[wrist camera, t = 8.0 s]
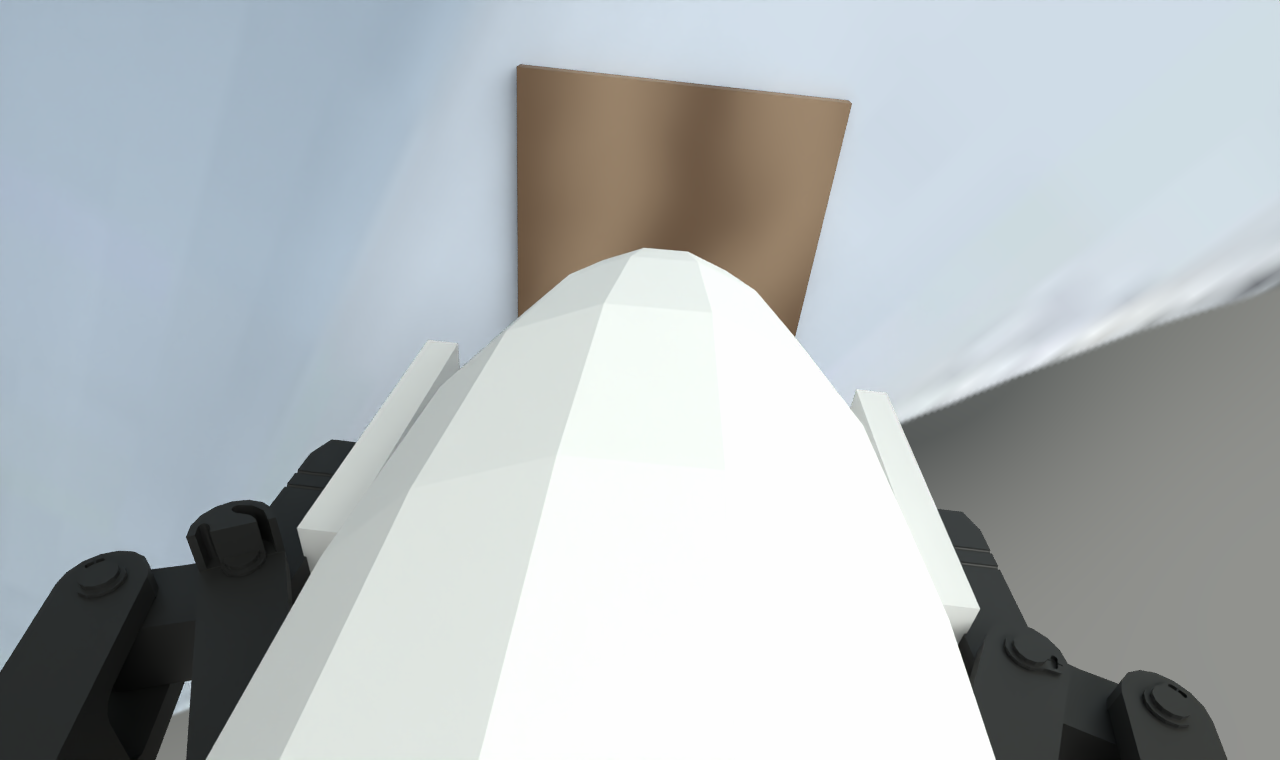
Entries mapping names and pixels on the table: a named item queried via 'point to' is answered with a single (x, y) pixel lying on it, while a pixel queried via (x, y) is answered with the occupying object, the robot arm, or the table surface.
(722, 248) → the coaster
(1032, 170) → the table surface
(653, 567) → the cup
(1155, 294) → the table surface
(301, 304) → the table surface
